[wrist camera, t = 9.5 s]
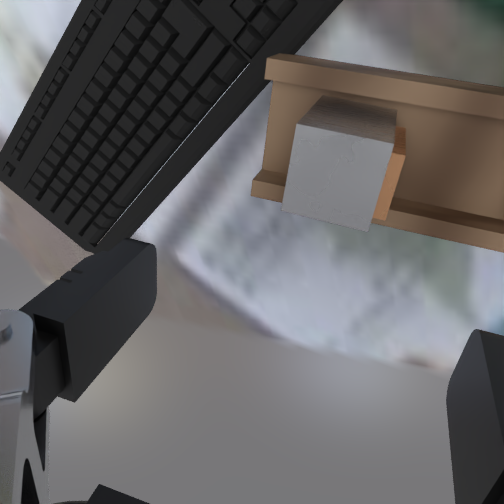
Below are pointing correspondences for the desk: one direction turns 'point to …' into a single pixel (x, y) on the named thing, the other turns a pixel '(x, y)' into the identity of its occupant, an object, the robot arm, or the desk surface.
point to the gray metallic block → (345, 163)
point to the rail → (417, 143)
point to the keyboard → (141, 104)
